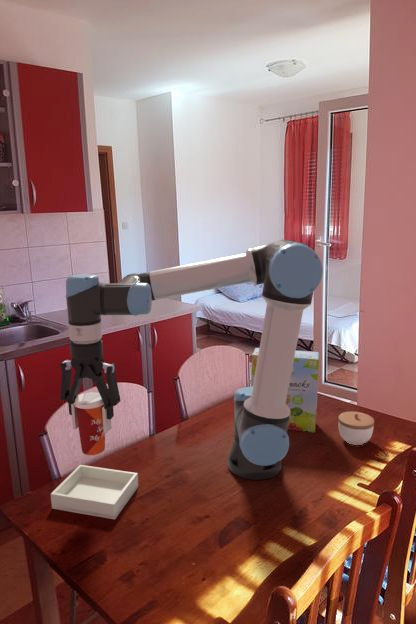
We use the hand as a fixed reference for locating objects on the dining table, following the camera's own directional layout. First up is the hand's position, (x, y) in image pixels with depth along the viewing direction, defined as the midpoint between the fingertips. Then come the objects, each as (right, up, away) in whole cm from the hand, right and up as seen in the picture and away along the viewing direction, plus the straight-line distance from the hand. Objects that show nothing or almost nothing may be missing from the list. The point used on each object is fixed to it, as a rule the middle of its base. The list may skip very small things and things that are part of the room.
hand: (92, 428), depth 118 cm
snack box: (+54, -10, +43) cm, 70 cm away
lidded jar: (+75, -12, +32) cm, 82 cm away
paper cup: (0, -6, +1) cm, 6 cm away
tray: (0, -19, +4) cm, 19 cm away
